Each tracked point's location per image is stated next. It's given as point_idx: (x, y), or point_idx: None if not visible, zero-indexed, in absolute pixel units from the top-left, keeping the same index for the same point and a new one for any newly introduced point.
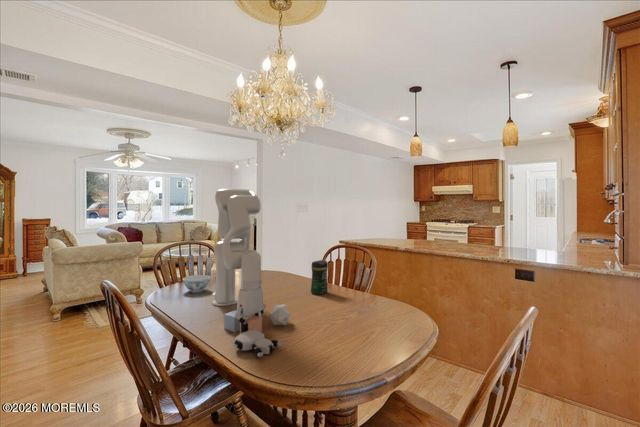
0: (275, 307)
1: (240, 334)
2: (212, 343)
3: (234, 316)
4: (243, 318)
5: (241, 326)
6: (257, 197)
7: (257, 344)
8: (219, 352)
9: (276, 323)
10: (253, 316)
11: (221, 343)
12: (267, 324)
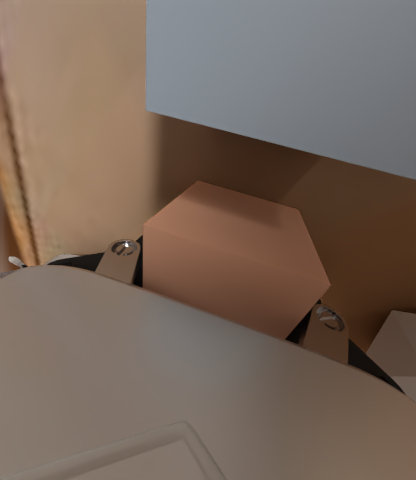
0: None
1: None
2: (26, 104)
3: (169, 85)
4: (132, 280)
5: (141, 239)
6: None
7: None
8: (27, 205)
9: (376, 338)
10: (254, 321)
11: (63, 158)
12: (408, 276)
